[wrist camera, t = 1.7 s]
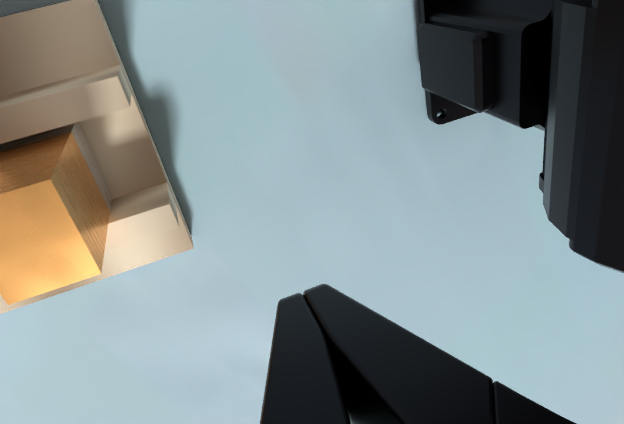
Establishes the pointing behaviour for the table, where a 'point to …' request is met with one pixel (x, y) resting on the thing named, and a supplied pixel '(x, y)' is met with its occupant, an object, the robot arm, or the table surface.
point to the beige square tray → (90, 126)
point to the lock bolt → (50, 213)
